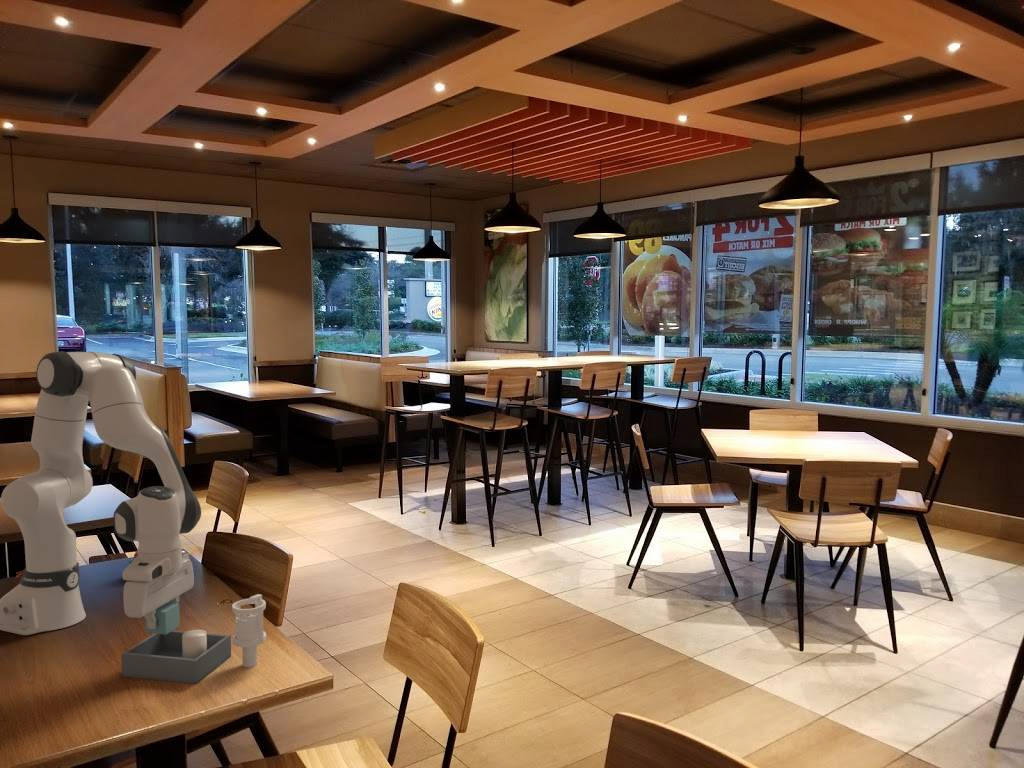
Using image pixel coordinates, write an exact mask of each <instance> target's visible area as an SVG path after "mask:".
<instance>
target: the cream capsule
mask: <svg viewBox="0 0 1024 768" xmlns="http://www.w3.org/2000/svg"><path fill="white" fill-rule="evenodd" d="M207 633H208V632H207V631H206V630H204V629H192V630H187V631H186V632H185V633H184V634H182V657H183V658H190V659H196V658H197V657H198V656H200V655H201V654H202V653H204V652H205V651H207Z"/></svg>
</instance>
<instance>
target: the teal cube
mask: <svg viewBox="0 0 1024 768" xmlns="http://www.w3.org/2000/svg"><path fill="white" fill-rule="evenodd" d="M154 615H155V618H156V619H159V626H158V627H156V628H155V629H149V628H148V627H147V620H146V619H145V618H144V624H145V626H144V627H145V628H144V629H145V634H168V633H169V632H171V631H172V630H176V629H177V628H179V627H180V626H181V621H180V620H181V618H180V617H181V616H180V604H179V603H178V604H172V603H169V602H167V603H165V604H164V605H162V606H160V607H159V608H157V609H156V613H155V614H154Z"/></svg>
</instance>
